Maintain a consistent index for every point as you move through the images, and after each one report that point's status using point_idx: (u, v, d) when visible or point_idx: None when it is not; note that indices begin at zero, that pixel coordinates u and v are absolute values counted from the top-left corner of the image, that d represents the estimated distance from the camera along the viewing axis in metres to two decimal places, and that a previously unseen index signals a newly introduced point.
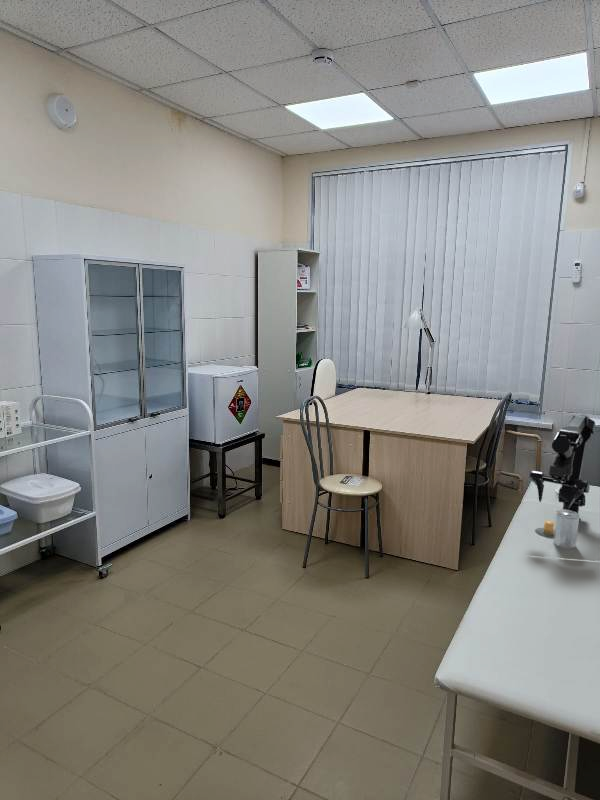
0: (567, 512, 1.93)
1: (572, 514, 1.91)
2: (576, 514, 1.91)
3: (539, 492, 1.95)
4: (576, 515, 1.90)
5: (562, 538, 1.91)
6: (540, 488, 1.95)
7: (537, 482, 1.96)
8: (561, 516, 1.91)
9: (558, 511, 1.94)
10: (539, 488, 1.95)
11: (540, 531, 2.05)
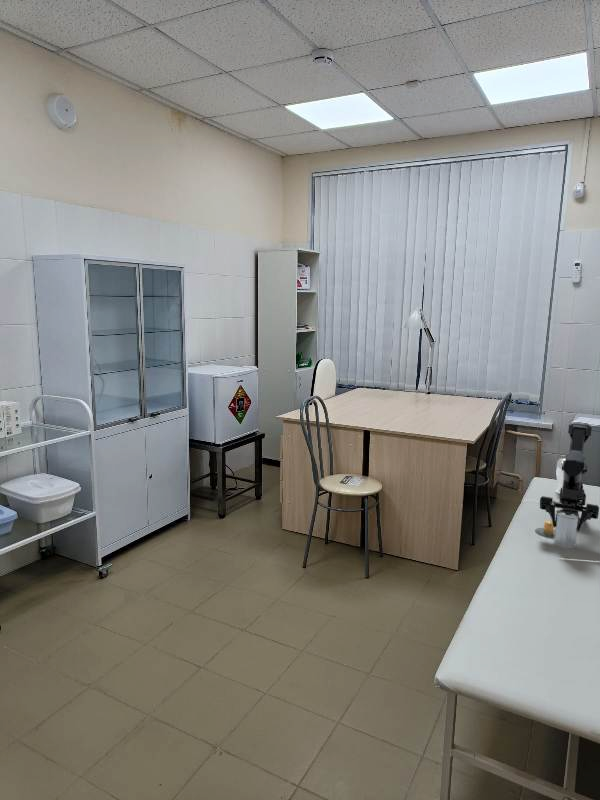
0: (567, 512, 1.93)
1: (572, 514, 1.91)
2: (576, 514, 1.91)
3: (553, 517, 1.95)
4: (576, 515, 1.90)
5: (562, 538, 1.91)
6: (554, 513, 1.95)
7: (550, 507, 1.96)
8: (561, 516, 1.91)
9: (558, 511, 1.94)
10: (553, 513, 1.95)
11: (540, 531, 2.05)
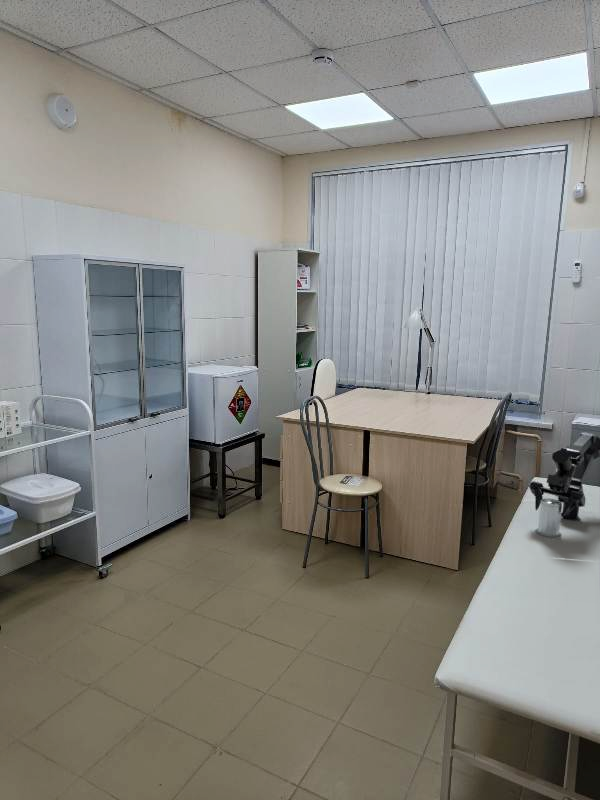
0: (551, 501, 2.02)
1: (555, 503, 2.00)
2: (559, 503, 2.00)
3: (536, 501, 2.05)
4: (558, 504, 1.99)
5: (543, 524, 2.01)
6: (538, 497, 2.05)
7: (535, 491, 2.06)
8: (543, 504, 2.00)
9: (543, 499, 2.03)
10: (537, 497, 2.06)
11: None
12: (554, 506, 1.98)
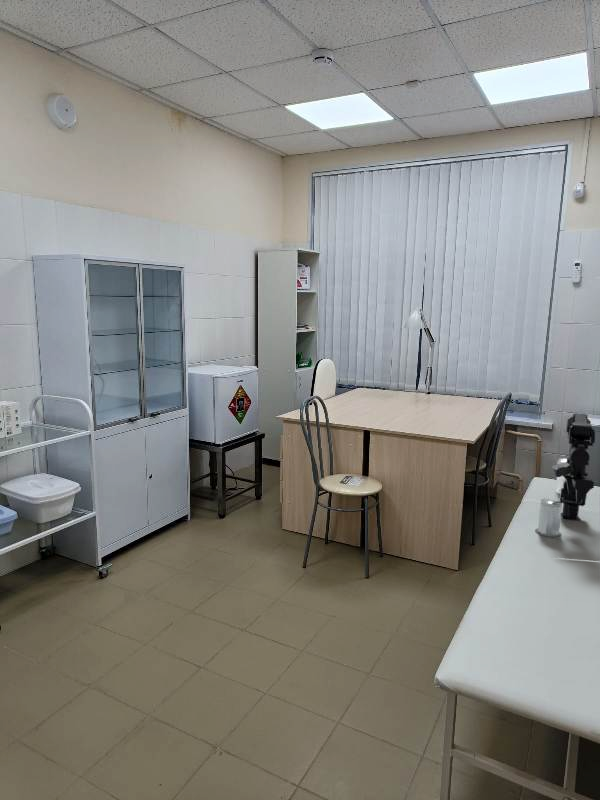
0: (551, 501, 2.02)
1: (555, 503, 2.00)
2: (559, 503, 2.00)
3: (567, 485, 2.08)
4: (558, 504, 1.99)
5: (543, 524, 2.01)
6: (567, 482, 2.08)
7: (563, 476, 2.09)
8: (543, 504, 2.01)
9: (543, 499, 2.03)
10: (566, 482, 2.08)
11: None
12: (554, 506, 1.98)
